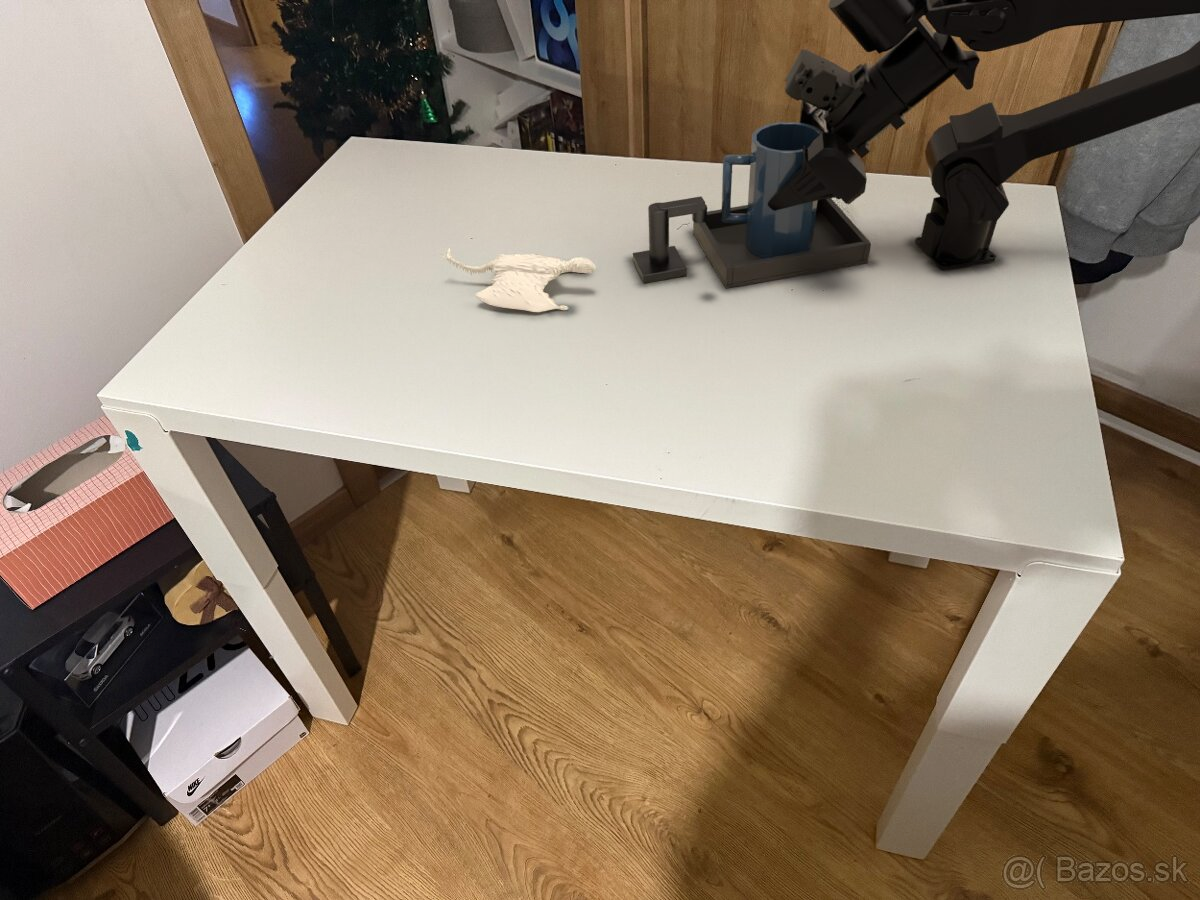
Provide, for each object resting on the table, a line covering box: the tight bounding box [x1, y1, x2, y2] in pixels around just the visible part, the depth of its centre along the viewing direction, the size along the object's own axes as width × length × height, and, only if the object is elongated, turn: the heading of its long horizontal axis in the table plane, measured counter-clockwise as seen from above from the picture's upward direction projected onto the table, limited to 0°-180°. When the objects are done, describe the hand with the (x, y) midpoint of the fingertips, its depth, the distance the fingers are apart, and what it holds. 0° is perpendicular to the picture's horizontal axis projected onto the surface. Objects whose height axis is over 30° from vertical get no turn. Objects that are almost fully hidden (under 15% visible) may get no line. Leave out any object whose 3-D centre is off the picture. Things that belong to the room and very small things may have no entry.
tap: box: [632, 196, 708, 284], centre depth 90 cm, size 8×5×8 cm, turn 102°
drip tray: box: [692, 198, 872, 289], centre depth 93 cm, size 16×12×2 cm
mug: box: [721, 121, 823, 259], centre depth 90 cm, size 10×7×12 cm
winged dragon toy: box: [440, 246, 597, 313], centre depth 90 cm, size 18×10×4 cm, turn 78°
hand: (770, 189), depth 89 cm, fingers closed on mug, 7 cm apart
